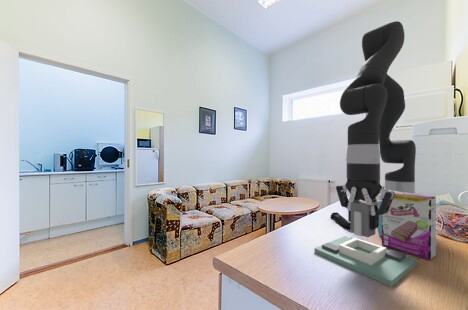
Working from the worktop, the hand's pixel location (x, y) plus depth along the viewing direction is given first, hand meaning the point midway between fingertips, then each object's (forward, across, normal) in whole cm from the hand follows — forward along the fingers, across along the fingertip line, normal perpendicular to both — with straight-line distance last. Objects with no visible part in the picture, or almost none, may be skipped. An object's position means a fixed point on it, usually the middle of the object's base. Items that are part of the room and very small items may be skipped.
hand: (362, 226), depth 54 cm
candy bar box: (+9, -5, -15) cm, 18 cm away
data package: (+9, -1, -23) cm, 25 cm away
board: (+8, 0, 0) cm, 8 cm away
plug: (+2, 0, 0) cm, 2 cm away
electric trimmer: (+9, +18, -23) cm, 31 cm away
